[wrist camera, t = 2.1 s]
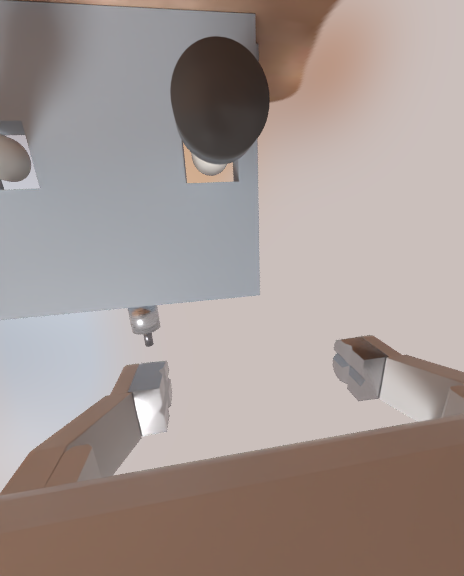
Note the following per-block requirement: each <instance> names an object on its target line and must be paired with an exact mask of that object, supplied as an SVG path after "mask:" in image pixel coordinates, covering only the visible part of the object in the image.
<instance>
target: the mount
mask: <svg viewBox="0 0 464 576" xmlns="http://www.w3.org/2000/svg"><path fill="white" fill-rule="evenodd" d="M211 36H220V37H226V38H230V39H233V40H235V41H237V42H239V43H240V44H242V45H243V46H245V47H246V48H247V49H248V50H249V51H250V52H251V53H252V54H253V55H254V56H255V58H256V59H257V61H259V51H258V44H256V20H255V14H246V13H228V12H210V11H192V10H173V9H155V8H137V7H119V6H100V5H82V4H64V3H46V2H28V1H9V0H0V134H2V135H26V139H27V143H28V146H29V150H30V153H31V157H32V161H33V164H34V168H35V172H36V175H37V179H38V182H39V186H40V189H14V190H4V187H3V184H2V181H1V180H0V320H7V319H17V318H28V317H38V316H49V315H59V314H70V313H80V312H89V311H101V310H111V309H121V308H132V307H142V306H152V305H163V304H172V303H183V302H194V301H203V300H214V299H225V298H235V297H245V296H256V295H260V275H259V216H258V215H259V213H258V212H259V211H258V154H257V153H258V147H257V139H256V141H255V142H254V143H253V145H252V146H251V147H250V149H249V150H248V151H247V152H246V153H245V154H244V155H243V156H242V157H241V158H239V159H238V160H236V161H234V162H233V173H234V174H233V175H234V182H215V183H214V182H213V183H187V179H186V169H185V159H184V149H183V141H182V139H181V137H180V135H179V133H178V130H177V126H176V122H175V118H174V114H173V109H172V104H171V96H170V87H171V79H172V74H173V71H174V68H175V66H176V63H177V61H178V60H179V58H180V56H181V55H182V54H183V52H184V51H185V50H186V49H187V48H188V47H189V46H190V45H192V44H193V43H195V42H196V41H198V40H200V39H203V38H206V37H211Z"/></svg>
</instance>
